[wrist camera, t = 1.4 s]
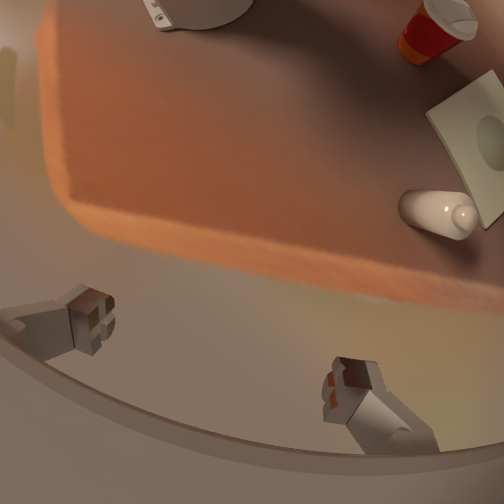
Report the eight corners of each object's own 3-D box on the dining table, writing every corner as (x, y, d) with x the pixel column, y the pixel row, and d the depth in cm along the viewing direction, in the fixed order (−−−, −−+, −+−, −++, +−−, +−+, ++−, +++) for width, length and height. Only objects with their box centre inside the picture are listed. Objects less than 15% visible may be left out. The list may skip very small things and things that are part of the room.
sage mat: (424, 113, 34) (427, 111, 33) (489, 70, 30) (492, 69, 29) (482, 228, 36) (486, 229, 35) (537, 170, 32) (541, 170, 31)
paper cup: (424, 31, 30) (465, -8, 17) (440, 72, 32) (489, 41, 18) (383, 28, 31) (416, -20, 18) (399, 70, 33) (443, 31, 19)
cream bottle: (391, 202, 37) (444, 210, 23) (417, 183, 36) (475, 183, 22) (408, 232, 38) (462, 253, 24) (433, 213, 37) (492, 226, 23)
